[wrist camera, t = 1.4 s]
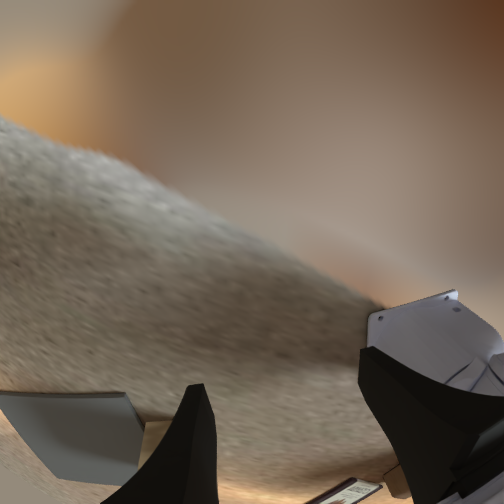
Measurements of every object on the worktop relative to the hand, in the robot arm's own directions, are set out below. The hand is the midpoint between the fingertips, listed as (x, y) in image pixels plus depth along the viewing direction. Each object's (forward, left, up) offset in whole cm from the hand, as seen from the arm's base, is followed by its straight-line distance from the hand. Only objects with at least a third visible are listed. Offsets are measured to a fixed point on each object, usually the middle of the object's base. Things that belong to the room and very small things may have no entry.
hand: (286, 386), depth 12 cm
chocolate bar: (-4, +40, -11) cm, 42 cm away
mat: (+22, +16, -10) cm, 29 cm away
